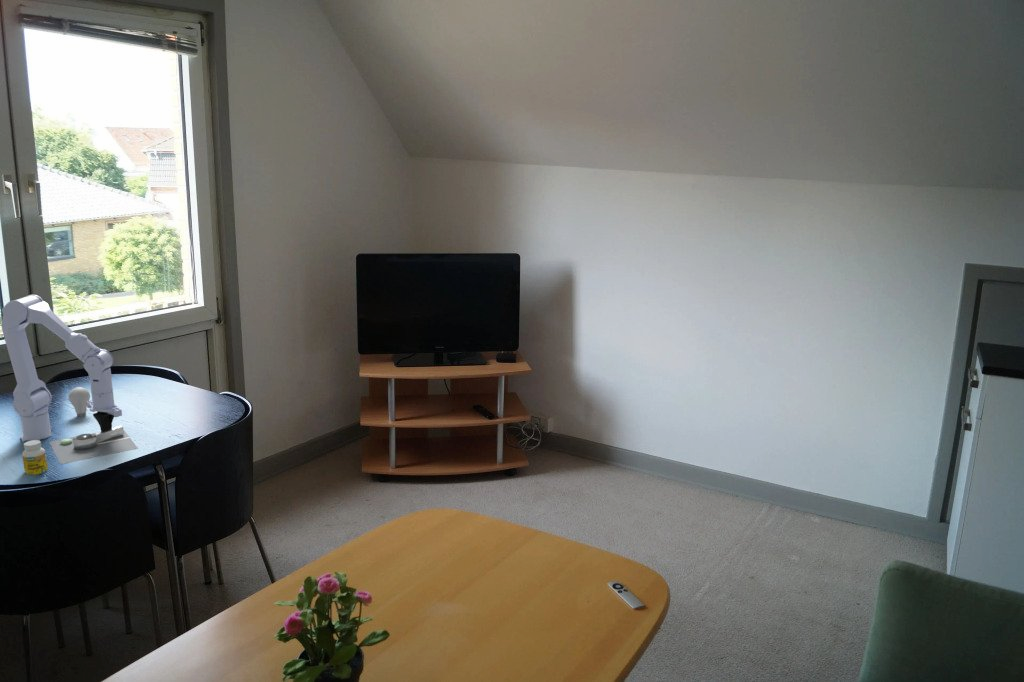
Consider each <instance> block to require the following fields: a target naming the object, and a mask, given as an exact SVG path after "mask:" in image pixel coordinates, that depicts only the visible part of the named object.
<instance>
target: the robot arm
mask: <svg viewBox="0 0 1024 682" xmlns="http://www.w3.org/2000/svg"><path fill="white" fill-rule="evenodd" d="M1 311H2V314H3V316H2V321H1V330H2V334H3V338H4V341H5V345H6V349H7V353H8V356H9V359H10V361H11V362H10V363H11V366H12V370H13V373H14V377H15V381H16V386H15V388H14V390H13V393H12V395H13V402H12V406H13V409H14V411H15V412H16V414H18V415H19V416H18V417H20V422H21V428H22V435H20V436H19V437H20V439H21V442H22V443H23V442H24V443H25V441H26V442H27V441H32V440H39V441H40V440H43V439H44V440H45V439H47V438H50V436H52V431H51V430H52V429H51V423H50V422H51V421H50V415H49V414H50V413H49V405H50V404H51V402H52V400H53V399H52V398H53V397H52V394H51V392H50V390H49V389H48V387H47V385H46V383H45V382H44V381H43V380H40V378H39V377H38V373H37V369H36V366H35V362H34V359H33V354H32V350H31V347H30V344H29V341H28V336H27V332H26V327H28V325H29V324H41V325H42V326H44V327H45V328H47V329H48V330H49V331H51V332H52V333H53V334H55V335H56V336H58V337H59V338H60V339H61V340H63V341H64V345H65V348H66V349H67V350H68V351H69V352H70V353H71V354H73V355H74V356H75V357H76V358H77V359H78V360H79V361H81V362H82V363H83V368H84V370H85V371H86V372H87V374H88V378H89V384H90V393H91V394H90V395H91V400H89V401H87V408H88V409H89V412H92V413H93V412H94V413H93V414H92V417H93V418H94V419H95V420H96V422H97V423H98V425H99V429H100V432H101V431H105V430H108V429H112V428H113V422H114V421H113V420H114V418H118V417H119V418H120V417H122V416H123V412H122V411H123V410H122V409H121V408H119V407H118V406H117V404H116V403H115V398H114V389H113V380H112V370H111V367H112V366H113V363H114V357H113V354H111V352H110V351H109V350H107V349H102V348H101V347H99V346H97V345H95V344H94V343H93V342H92V341H91V340H90V339H88V338H89V337H88V336H87V334H83V333H80V332H74V331H73V330H72V329H71V328H69V326H68V325H67V324H66V323H65V322H64V321H63V320H62V319H61V318H59V316H58V315H57V314H56V313H55V312H54V311H52V309H51V308H50V305H49V303H48V302H46V301H44V300H43V298H42V297H41V296H39V295H37V294H29V295H26V296H24V297H20V298H17V299H15V300H13V299H12V300H10V301H8V302H7V303H6V304H5V305H4V306H3V307H2V308H1ZM87 408H86V409H87Z"/></svg>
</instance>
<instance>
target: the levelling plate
mask: <svg viewBox="0 0 1024 682" xmlns="http://www.w3.org/2000/svg"><path fill="white" fill-rule="evenodd" d="M123 431H124V434H123V435H120V436H117V437H114V438H111V439H108V440H104V441H101V442H98V443H97V445H96V446H95V447H93V448H90V449H85V450H77V449H74V444H73V438H74V437H75V436H73V437H72V436H71V437H66V438H60V439H55V440H51V441H49V442H48V443H49V445H50V447H51V448H52V451H53V453H54V455H55V456H56V458H57V460H58V462H59V464H60V465H65V464H69V463H73V462H79V461H85V460H87V459H88V460H89V459H93V458H99V457H102V456H108V455H114V454H117V453H124V452H128V451H132V450H138V449H139V448H138V446H137V445H136V444H135V442H134V441H133V440H132V438H131V437H130V436H129V435H128V433H127V432H126V431H125V430H124V429H123ZM95 433H96V432H94V433H92V434H95Z"/></svg>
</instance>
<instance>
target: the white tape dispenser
mask: <svg viewBox="0 0 1024 682" xmlns="http://www.w3.org/2000/svg"><path fill="white" fill-rule="evenodd" d="M123 430H124V426H123V425H118V426H115V427H112V429H108V430H105V431H101V430H100V431H97V432H94V433H95V434H93V433H82V434H78V435H76V436H73V437H74V438H73V444H74V449H77V450H85V449H90V448H93V447H95V446H96V445H97V443H98V442H101V441H104V440H108V439H111V438H114V437H117V436H120V435H123V434H124V431H125V430H124V431H123Z"/></svg>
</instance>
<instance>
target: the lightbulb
mask: <svg viewBox="0 0 1024 682" xmlns="http://www.w3.org/2000/svg"><path fill="white" fill-rule="evenodd" d="M90 393H91V392H90V391H89V390H88V389H87V388H85V387H82V386H81V387H80V386H77V387H74V388H73V389H71V390H70V391H69V393H68V395H67V396H68V397H67V398H68V400H69V401H68V402H69V403H70V404H71V405H72V406H73V409H74V411H75V413H76V417H77V418H82V417H86V416H87V401H90V398H91V394H90Z"/></svg>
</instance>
